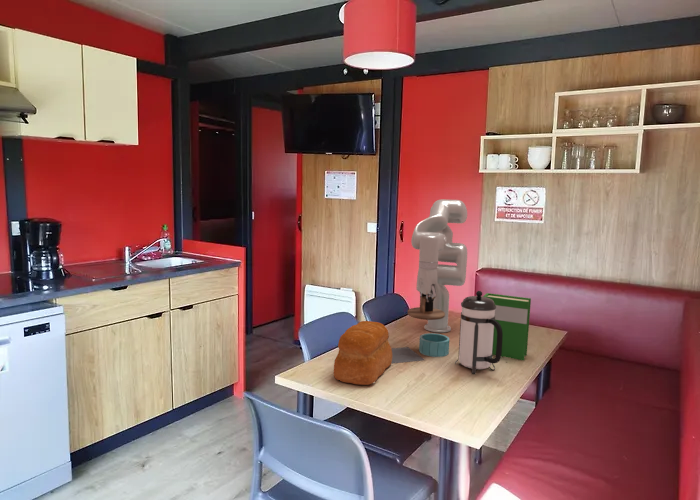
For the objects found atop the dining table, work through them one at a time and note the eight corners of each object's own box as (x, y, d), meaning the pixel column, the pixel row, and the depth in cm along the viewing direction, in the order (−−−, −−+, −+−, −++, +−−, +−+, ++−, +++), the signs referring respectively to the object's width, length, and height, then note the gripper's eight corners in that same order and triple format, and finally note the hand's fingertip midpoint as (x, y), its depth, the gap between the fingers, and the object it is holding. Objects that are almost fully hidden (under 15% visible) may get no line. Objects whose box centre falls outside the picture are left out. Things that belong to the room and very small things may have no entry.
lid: (401, 310, 201) (402, 294, 200) (434, 308, 205) (435, 292, 204) (416, 321, 187) (417, 303, 186) (451, 318, 191) (452, 301, 190)
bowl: (414, 349, 203) (414, 334, 202) (439, 347, 207) (440, 332, 206) (427, 359, 192) (428, 343, 191) (454, 356, 195) (454, 341, 195)
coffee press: (450, 372, 179) (455, 293, 175) (458, 358, 194) (462, 285, 190) (499, 380, 172) (505, 298, 168) (503, 365, 187) (508, 289, 183)
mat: (372, 351, 199) (372, 350, 199) (407, 348, 204) (407, 346, 204) (387, 365, 184) (387, 363, 184) (425, 361, 189) (425, 360, 189)
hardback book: (526, 355, 200) (530, 298, 196) (523, 360, 193) (528, 302, 190) (483, 347, 208) (487, 293, 205) (479, 352, 201) (483, 296, 198)
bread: (329, 381, 168) (329, 333, 166) (357, 356, 192) (357, 314, 189) (371, 388, 162) (372, 339, 160) (395, 362, 186) (395, 318, 183)
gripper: (411, 262, 200) (409, 305, 203) (429, 269, 184) (427, 316, 187) (427, 261, 202) (425, 304, 205) (446, 268, 186) (444, 314, 189)
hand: (426, 309), depth 196 cm, fingers closed on lid, 4 cm apart
